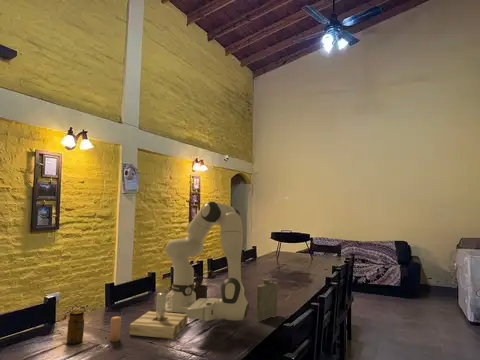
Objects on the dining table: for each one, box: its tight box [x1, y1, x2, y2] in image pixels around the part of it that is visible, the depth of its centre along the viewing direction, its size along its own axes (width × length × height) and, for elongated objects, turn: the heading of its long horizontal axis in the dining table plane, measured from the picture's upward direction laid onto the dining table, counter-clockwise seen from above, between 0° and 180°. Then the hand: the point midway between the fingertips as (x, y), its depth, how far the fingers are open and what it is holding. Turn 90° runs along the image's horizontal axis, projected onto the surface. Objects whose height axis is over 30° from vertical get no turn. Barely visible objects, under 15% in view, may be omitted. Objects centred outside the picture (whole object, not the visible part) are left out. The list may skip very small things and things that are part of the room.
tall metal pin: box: [155, 292, 167, 321], centre depth 164 cm, size 4×4×16 cm
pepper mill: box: [194, 269, 214, 301], centre depth 216 cm, size 16×11×18 cm
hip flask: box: [255, 278, 279, 321], centre depth 185 cm, size 16×4×20 cm, turn 138°
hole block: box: [129, 310, 189, 339], centre depth 164 cm, size 20×20×4 cm
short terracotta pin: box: [109, 316, 122, 343], centre depth 149 cm, size 4×4×9 cm
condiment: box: [62, 310, 89, 348], centre depth 145 cm, size 7×8×12 cm
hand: (183, 306), depth 163 cm, fingers open, 8 cm apart
